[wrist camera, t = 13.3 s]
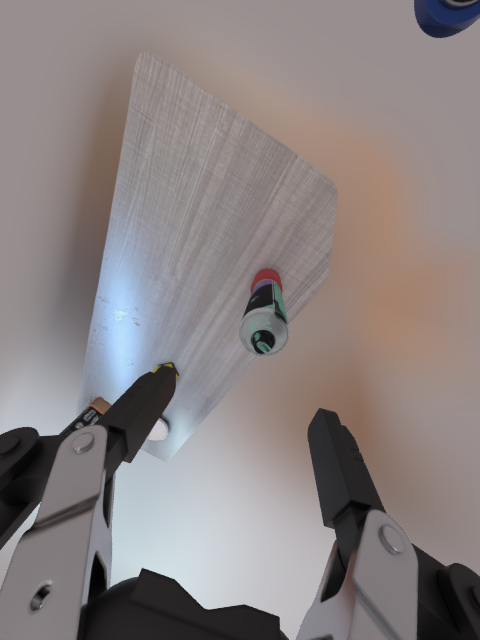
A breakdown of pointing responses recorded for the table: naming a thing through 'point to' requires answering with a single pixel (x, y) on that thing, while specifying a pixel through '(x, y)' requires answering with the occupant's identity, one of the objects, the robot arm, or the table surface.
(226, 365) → the table surface
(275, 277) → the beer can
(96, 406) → the whiskey bottle
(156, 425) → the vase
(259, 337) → the spray can
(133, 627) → the robot arm
